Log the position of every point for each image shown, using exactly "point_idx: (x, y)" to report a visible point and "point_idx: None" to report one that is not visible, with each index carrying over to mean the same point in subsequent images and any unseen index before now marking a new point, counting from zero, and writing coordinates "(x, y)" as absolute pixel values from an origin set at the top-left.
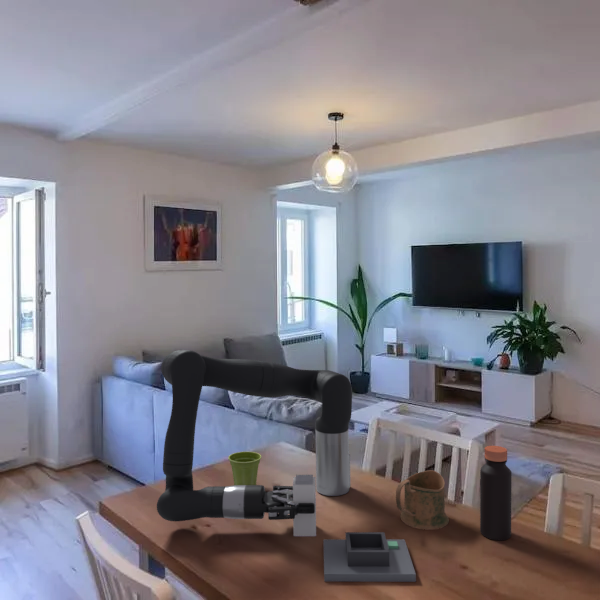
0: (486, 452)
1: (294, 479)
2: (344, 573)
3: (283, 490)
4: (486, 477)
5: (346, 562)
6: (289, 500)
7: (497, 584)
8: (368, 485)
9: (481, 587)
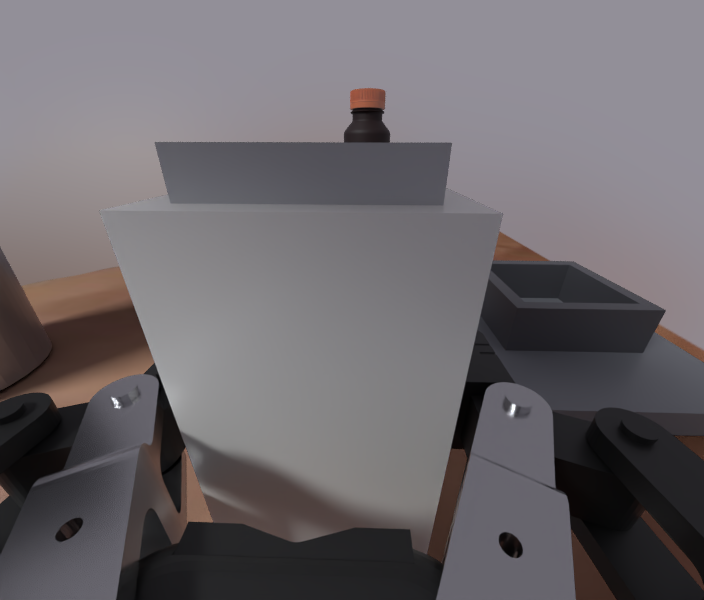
0: (373, 93)
1: (226, 207)
2: (698, 362)
3: (31, 577)
4: (380, 138)
5: (619, 354)
6: (480, 455)
7: (501, 245)
8: (55, 302)
9: (519, 252)
